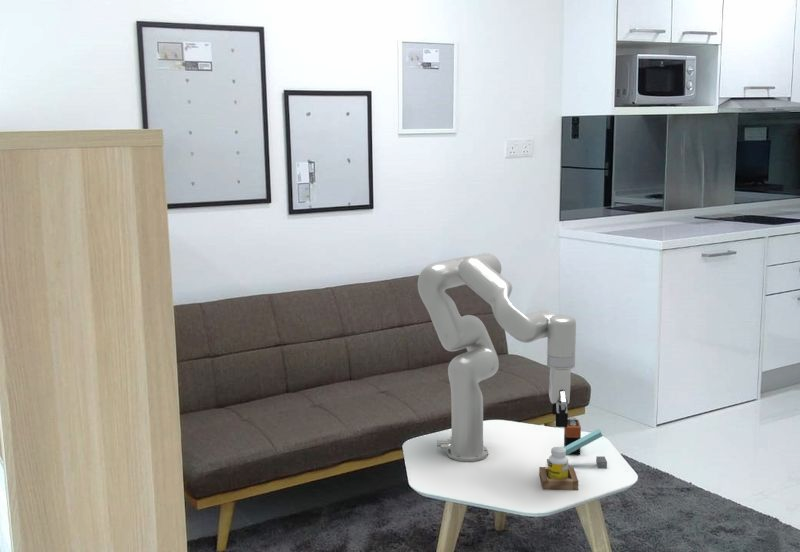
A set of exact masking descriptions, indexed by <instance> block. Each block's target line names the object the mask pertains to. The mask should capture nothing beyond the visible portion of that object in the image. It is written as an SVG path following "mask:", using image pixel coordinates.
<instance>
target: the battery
mask: <svg viewBox="0 0 800 552" xmlns="http://www.w3.org/2000/svg"><path fill="white" fill-rule="evenodd" d="M581 427H582V426H581V424H580V420H579V419H576V417H575V416H574V417H573V416H570V417H568V426H567V427H563V428H564V429H563V430H564V431H563V433H564V434H563V447H565V446H567V445H569V444H571V443H573V442H575V441H576V440H578V439H580V438H582V435H581V432H582V428H581ZM579 455H581V448H579V449H577V450H576V451H574V452H572V453H570V454H568V455H567V456H579Z"/></svg>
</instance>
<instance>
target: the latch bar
mask: <svg viewBox="0 0 800 552" xmlns="http://www.w3.org/2000/svg"><path fill="white" fill-rule="evenodd" d="M602 437H603V433H602V432H601V430H600V428H597V429H596V430H593V431H591V432H589V433H588V434H586V435H585V436H581V438H580V439H578V440H576V441H575V442H573V443H571V444H569V445H567V446H565V447H564V446H562V448H565V449H566V455H565V456H566V457H567V456H569V455H568V454H570V453H572V452H574V451H576V450H577V449H579V448H580V449H581V448H583V447H585V446H587V445H589V444H591V443H593V442H595V441H596V440H598V439H599V438H602Z"/></svg>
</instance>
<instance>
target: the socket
mask: <svg viewBox="0 0 800 552" xmlns="http://www.w3.org/2000/svg"><path fill="white" fill-rule="evenodd" d="M538 471H539V472H538V474H539V475H538V477H539V479H540V483H541V488H542V490H543V491H544V490H545V491H546V490H547V491H549V490H553V491H557V490H559V491H561V490H563V491H579V479H578V476H577V474H576V470H575V468H574V466H568V479H548V466H539V470H538Z"/></svg>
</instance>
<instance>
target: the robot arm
mask: <svg viewBox="0 0 800 552" xmlns="http://www.w3.org/2000/svg"><path fill="white" fill-rule="evenodd" d="M501 273H502V264H501V262H500V260H499V259H498V257H496V256H495V255H494V254H491V253H487V252H486V253H485V252H484V253H479V254H476V255H470V256H469V255H468V256H463V257H456V258H451V259H447V260H441V261H440V260H439V261H437V262H433V263H430V264H428V265H426V266H425V267H424V268H423V269H422V270H421V271H420V273H419V275H418V279H417V291H418V294H419V297H420V299H421V301H422V303H423V305H424V307H425V308H426V310H427V312H428V314H429V316H430V317H429V318H430V319H431V322H432V324H433V328H434V329H435V332H436V334H437V336H438V339H439V341H440V343H441V346H442V347H443V349H444V350H446V351H448V352H456V351H460V350H464V349H466V350H467V351H466V352H463V353H461V354H459V355H456V356H455V357H454V358H452V359H451V360H450V362H449V363H448V367H447V374H448V381H449V387H450V397H451V398H450V399H451V401H450V403H451V404H450V406H451V436H450V438H449V439H447V440H443V439H440V440H439V439H437V440H436V446H437V447H438V448H439V447H440V449H441V450H446V456H447V457H448V458H450V459H452V460H454V461H460V462H470V463H471V462H477V461H482V460H484V459H485V458H487V457H488V455H489V449H488V448H487V447H486V446H484V396H483V393H482V390H481V388H480V385H479V383H480V382H481V381H485V380H487V379H489V378H491V377H493V376H495V374H497V372H498V370H499V367H500V363H499V362H500V361H499V357H498V353H497V351H496V348H495V347H494V344H493V341H492V339H491V337H490V335H489V332H488V330H487V328H486V325H485V324H484V323H483V321H482V320H481V319H480V318H479V317H478V316H475V315H473V314H472V315H471V314H465V315H463V316H461V314H460V312H459V309H458V307H457V305H456V303H455V301H454V300H453V298H451V296H449V295H448V294H447V293H446V290H447V289H452V288H457V287H460V286H464V285H466V286H467V287H469V288H470V289H471V290H472V291H473V292H475V293H476V294H477V295H478V296H479V297H480V298H482V300H483V301H484V302H486V303H487V304H489V305H490V306H491V311H492V314H493V316H494V318H495V320H496V322H497V324H498V325H499V326H500V327H501V328H502V330H503V331H505V332H506V333H508V334H509V335H510V337H512V338H514V339H515V340H517V341H518V342H521V343H525V344H526V343H533V342H534V341H537V340H540V339H544V338H547V340H546V341H547V342H546V343H547V346H546V348H547V349H546V353H547V354H546V367H548V368H549V381H548V382H549V383H548V385H549V386H548V396H549V401H550V403H551V405H552V407H551V410H552V415H554V416H555V422H554V423H555V425H554V426H555V427H556V428H564V427H567V426H568V419H569V413H568V404H569V403H570V396H571V369H574V368H575V367H576V339H577V338H576V337H577V322H576V319H575V318H574V317H573V316H571V315H567V314H557V313H556V312H555V313H554V312H552V311H549V310H546V309H540V310H537V311H533V312H529V313H527V314H523V312H521V311H520V310H519V309H518V308H517V307H515V306H514V305H513V304H512V303H511V300H510V299H509V298H510V296H511V293H512V291H513V286H512V285H513V284H512V283H511V282H510V281H509V280H508V279H507V278H505V277H504V276H503V275H501Z"/></svg>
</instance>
